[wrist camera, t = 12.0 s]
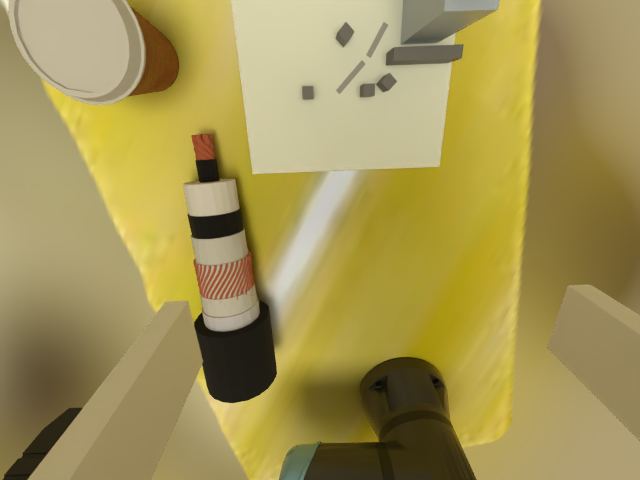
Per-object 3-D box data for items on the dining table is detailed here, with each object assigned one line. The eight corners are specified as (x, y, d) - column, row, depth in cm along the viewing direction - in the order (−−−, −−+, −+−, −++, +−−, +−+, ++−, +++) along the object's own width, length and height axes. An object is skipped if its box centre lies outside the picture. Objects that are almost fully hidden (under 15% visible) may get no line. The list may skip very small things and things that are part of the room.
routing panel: (438, 165, 39) (451, 171, 35) (253, 173, 39) (247, 179, 35) (461, -36, 31) (482, -56, 27) (228, -28, 31) (217, -46, 27)
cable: (235, 135, 41) (256, 129, 33) (264, 345, 51) (287, 383, 43) (152, 139, 37) (152, 133, 28) (202, 367, 47) (213, 415, 38)
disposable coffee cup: (173, -2, 31) (97, -63, 20) (205, 96, 35) (156, 90, 24) (89, 20, 32) (-29, -27, 21) (129, 114, 36) (47, 116, 25)
